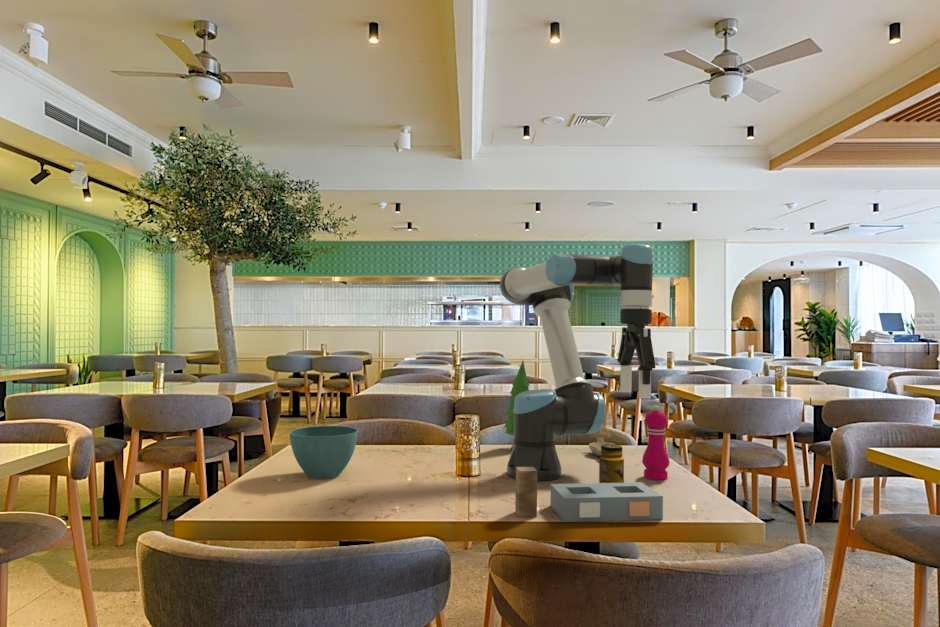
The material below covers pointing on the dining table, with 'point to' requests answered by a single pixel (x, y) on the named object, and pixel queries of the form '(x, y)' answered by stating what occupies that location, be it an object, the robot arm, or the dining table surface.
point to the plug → (526, 492)
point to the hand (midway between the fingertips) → (634, 394)
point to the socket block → (606, 502)
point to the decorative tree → (518, 387)
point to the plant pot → (323, 449)
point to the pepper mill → (655, 446)
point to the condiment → (611, 464)
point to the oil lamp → (599, 440)
